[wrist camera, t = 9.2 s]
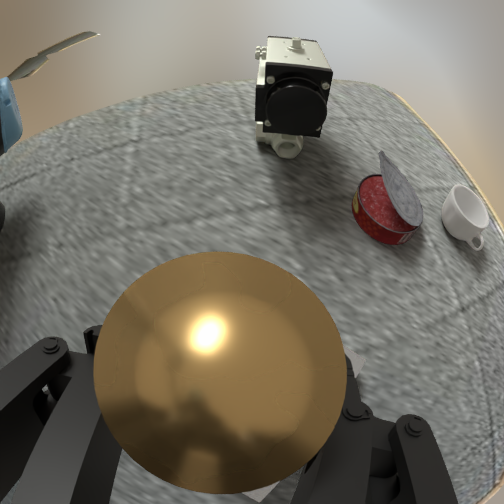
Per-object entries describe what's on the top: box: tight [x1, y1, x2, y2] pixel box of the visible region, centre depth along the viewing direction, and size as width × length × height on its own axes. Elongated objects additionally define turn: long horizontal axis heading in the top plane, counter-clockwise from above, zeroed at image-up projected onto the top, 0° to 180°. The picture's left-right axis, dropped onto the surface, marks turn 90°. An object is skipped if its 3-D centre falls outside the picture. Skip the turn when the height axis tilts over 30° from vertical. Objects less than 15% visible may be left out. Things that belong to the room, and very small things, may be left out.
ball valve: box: [255, 36, 333, 159], centre depth 33 cm, size 18×8×18 cm, turn 176°
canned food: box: [352, 151, 423, 245], centre depth 32 cm, size 11×10×10 cm
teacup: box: [441, 184, 489, 251], centre depth 31 cm, size 10×8×5 cm
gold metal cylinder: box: [93, 252, 347, 494], centre depth 9 cm, size 5×5×12 cm
